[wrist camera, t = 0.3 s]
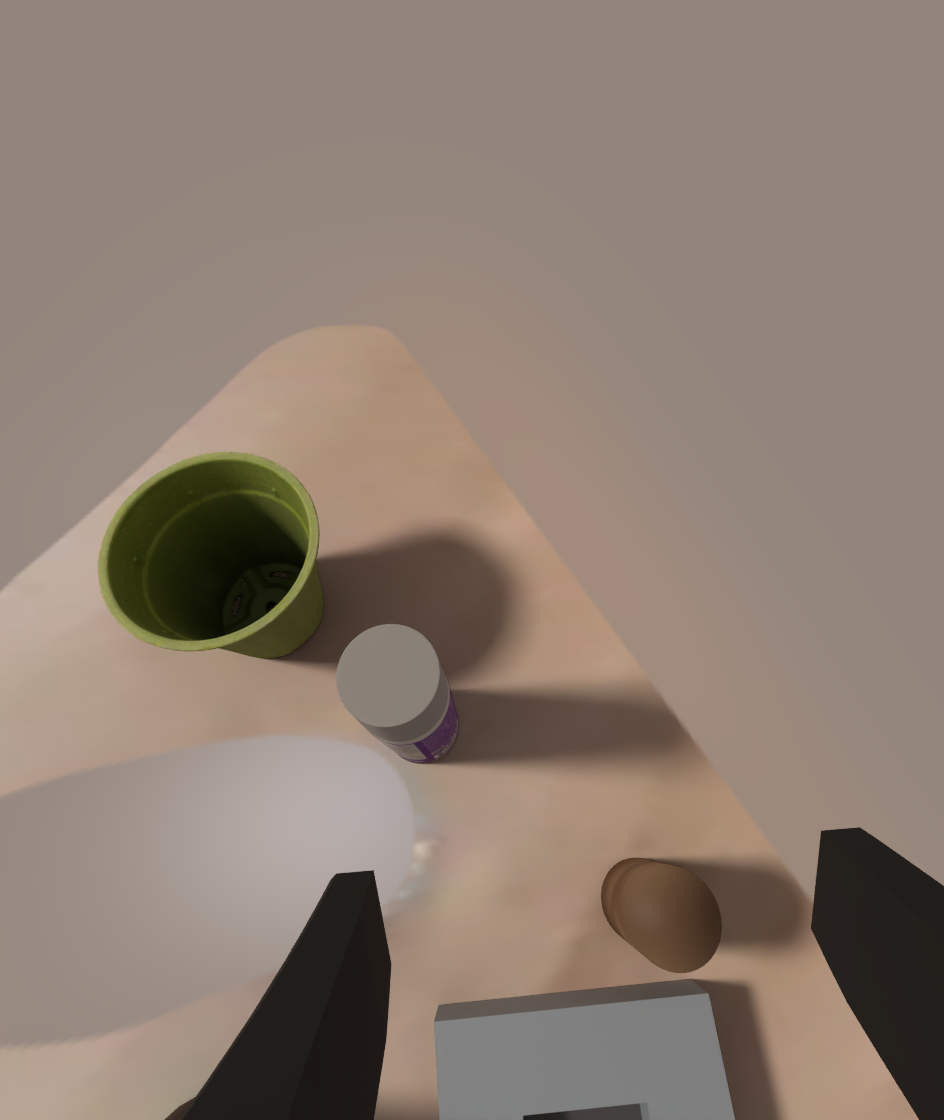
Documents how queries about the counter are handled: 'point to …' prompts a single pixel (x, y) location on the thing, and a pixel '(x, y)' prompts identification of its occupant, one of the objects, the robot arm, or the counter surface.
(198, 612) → the plant pot
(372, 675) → the container
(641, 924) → the peg
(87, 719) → the counter surface
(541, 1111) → the socket block
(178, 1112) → the bottle
